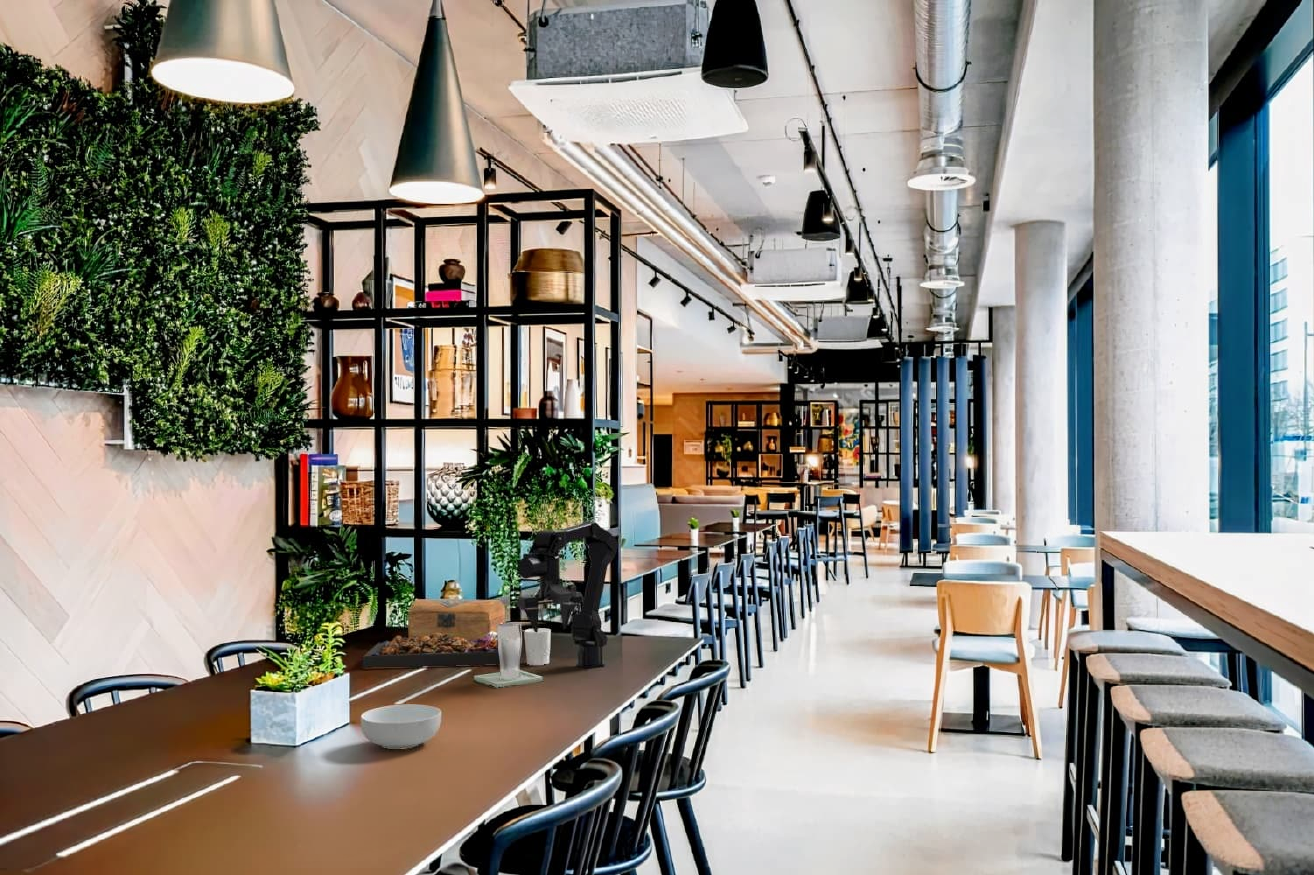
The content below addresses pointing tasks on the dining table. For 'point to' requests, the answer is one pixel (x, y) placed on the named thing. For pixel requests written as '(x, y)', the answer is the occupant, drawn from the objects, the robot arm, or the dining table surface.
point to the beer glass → (509, 650)
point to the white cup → (537, 646)
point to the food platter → (433, 651)
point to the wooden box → (455, 617)
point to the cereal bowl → (400, 725)
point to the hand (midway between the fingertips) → (550, 630)
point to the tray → (496, 682)
